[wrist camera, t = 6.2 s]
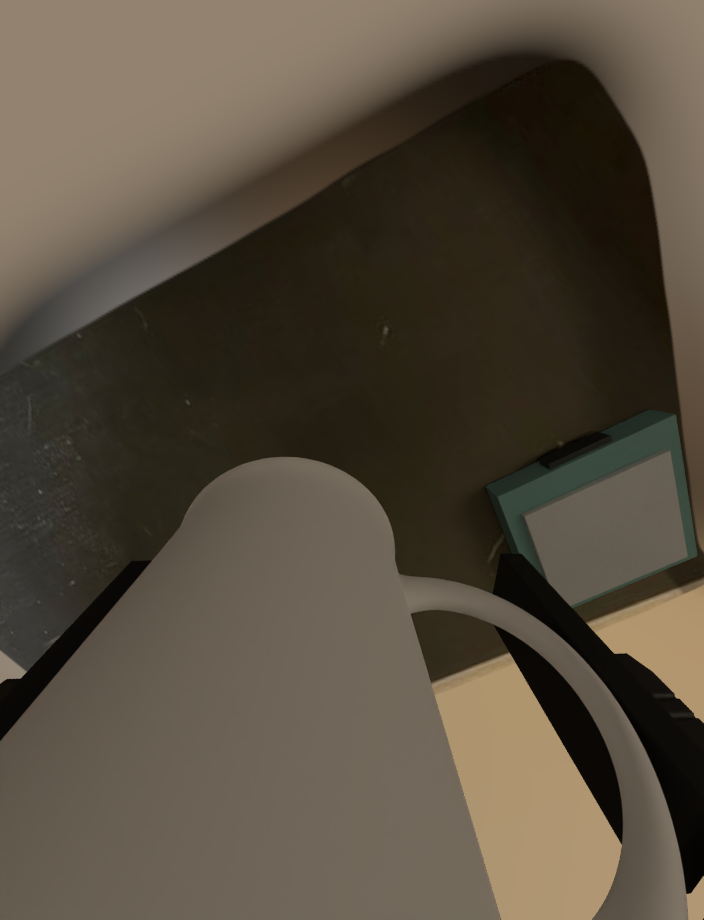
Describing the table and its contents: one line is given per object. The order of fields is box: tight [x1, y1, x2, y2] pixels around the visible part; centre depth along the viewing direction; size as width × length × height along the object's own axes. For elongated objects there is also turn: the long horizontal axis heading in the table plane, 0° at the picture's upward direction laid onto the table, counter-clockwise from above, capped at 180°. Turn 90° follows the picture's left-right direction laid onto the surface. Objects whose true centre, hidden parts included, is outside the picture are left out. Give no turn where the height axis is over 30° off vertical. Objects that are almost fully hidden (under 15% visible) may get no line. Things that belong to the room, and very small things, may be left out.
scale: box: [485, 410, 697, 608], centre depth 33 cm, size 17×18×3 cm
